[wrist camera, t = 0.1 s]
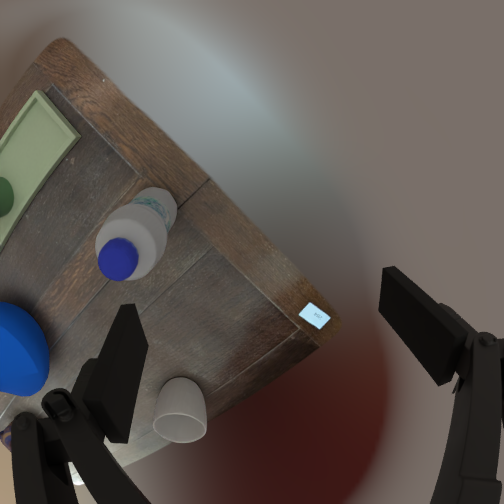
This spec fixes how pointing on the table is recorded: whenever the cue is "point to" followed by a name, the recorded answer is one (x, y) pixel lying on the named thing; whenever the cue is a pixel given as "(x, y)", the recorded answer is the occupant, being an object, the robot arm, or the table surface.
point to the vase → (21, 352)
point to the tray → (32, 154)
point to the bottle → (136, 235)
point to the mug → (180, 411)
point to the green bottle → (5, 197)
